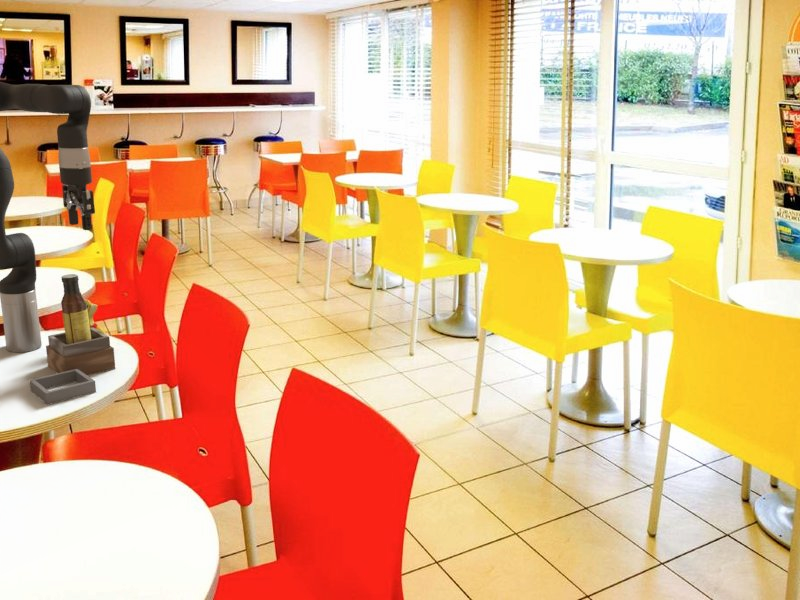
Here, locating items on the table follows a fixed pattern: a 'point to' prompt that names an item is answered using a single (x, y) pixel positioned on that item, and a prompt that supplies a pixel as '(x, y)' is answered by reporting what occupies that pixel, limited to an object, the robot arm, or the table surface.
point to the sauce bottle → (74, 311)
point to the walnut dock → (81, 353)
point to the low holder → (65, 393)
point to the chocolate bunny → (91, 310)
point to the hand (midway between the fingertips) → (80, 227)
